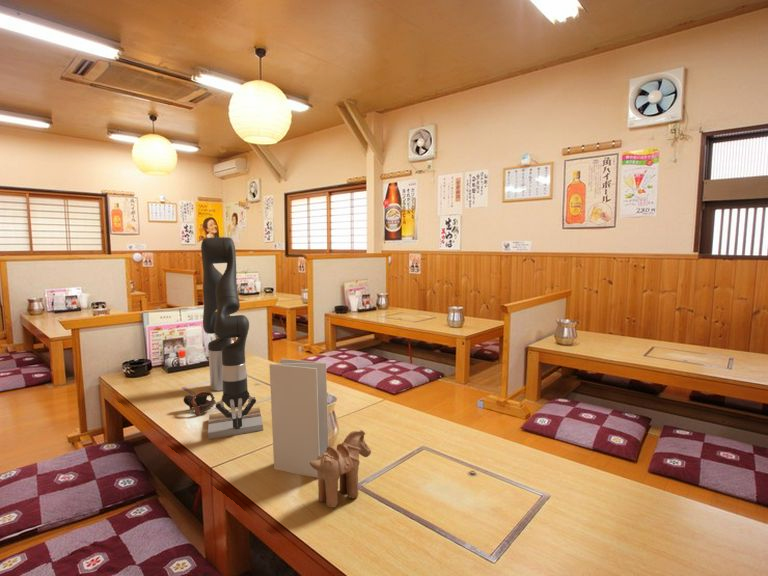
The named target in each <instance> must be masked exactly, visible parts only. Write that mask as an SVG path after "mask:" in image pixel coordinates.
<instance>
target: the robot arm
mask: <svg viewBox="0 0 768 576" xmlns="http://www.w3.org/2000/svg"><path fill="white" fill-rule="evenodd" d="M200 250H201V251H200V253H201V254H200V255H201V261H202V273H203V274H202V277H203V278H202V297H203V312H202V313H203V314H202V327H203V332H205V334H208V335H209V334H210V335H212V334H214V335H215V336H216V337H217V338H216V339H213V340H211V341H209V342H208V345H207V349H208V362H209V364H208V365H209V367H208V368H209V380H210V381H209V382H210V390H212V391H218V392H221V391H222V396H221V399H220V400H219V401H217V402H216V404H215V408H216V410H218V411H219V413H222V414H224V415H225V416H226V417H227V418H232V419H233V428H235V430H236V429H240V427H242V417H243V416H244V415H247V414H248V412H249V411H250V409H252V408H253V407H254V405H255V404H256V402H257V398H256V397H255V396H251V395H250V393H249V390H248V372H247V371H248V370H247V364H246V352H245V351H246V350H245V349H246V348H245V347H246V344H247V343H246V342H247V337H248V333H249V331H250V320H249V318H248V317H247V316H246V315H244V314H238V315H232V314H235V313H237V312H238V311H239V310H240V308H241V305H240V304H241V303H240V298H239V294H238V293H239V291H238V285H237V283H238V282H237V257H236V256H237V255H236V246H235V243H234V240H233V238H231V237H226V236H224V237H222V236H220V237H217V236H215V237H204V238H203V239H202V241H201V245H200ZM214 264H226V267H225V270H224V273H221V272H220V271H219V270H218V269H217V268H216V267H215V265H214ZM232 338H236V340H235V341H234V342H232ZM246 403H247V404H246ZM245 404H246V405H245ZM225 405H226V406H227V407H228V408H229V409H230V411H229V410H228V409H227V408H226V407H225ZM243 406H245V407H244V409H243ZM236 409H237V410H236ZM242 410H243V411H242ZM236 411H238V416H236ZM237 424H238V427H237Z"/></svg>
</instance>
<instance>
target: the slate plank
mask: <svg viewBox="0 0 768 576" xmlns="http://www.w3.org/2000/svg"><path fill="white" fill-rule="evenodd" d="M207 426H208V427H207V428H208V429H207V438H208V440H211V439H212V440H213V439H218V438H223V437H231V436H236V435H241V434H247V433H255V432H261V431H264V423H263V417H262V415H261V416H258V417H252V418H245V419H242V427H240V429H236V430H235V428H233V420H232V421H226V422H219V423H213V424H209V423H208V425H207ZM237 427H238V424H237Z"/></svg>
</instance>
